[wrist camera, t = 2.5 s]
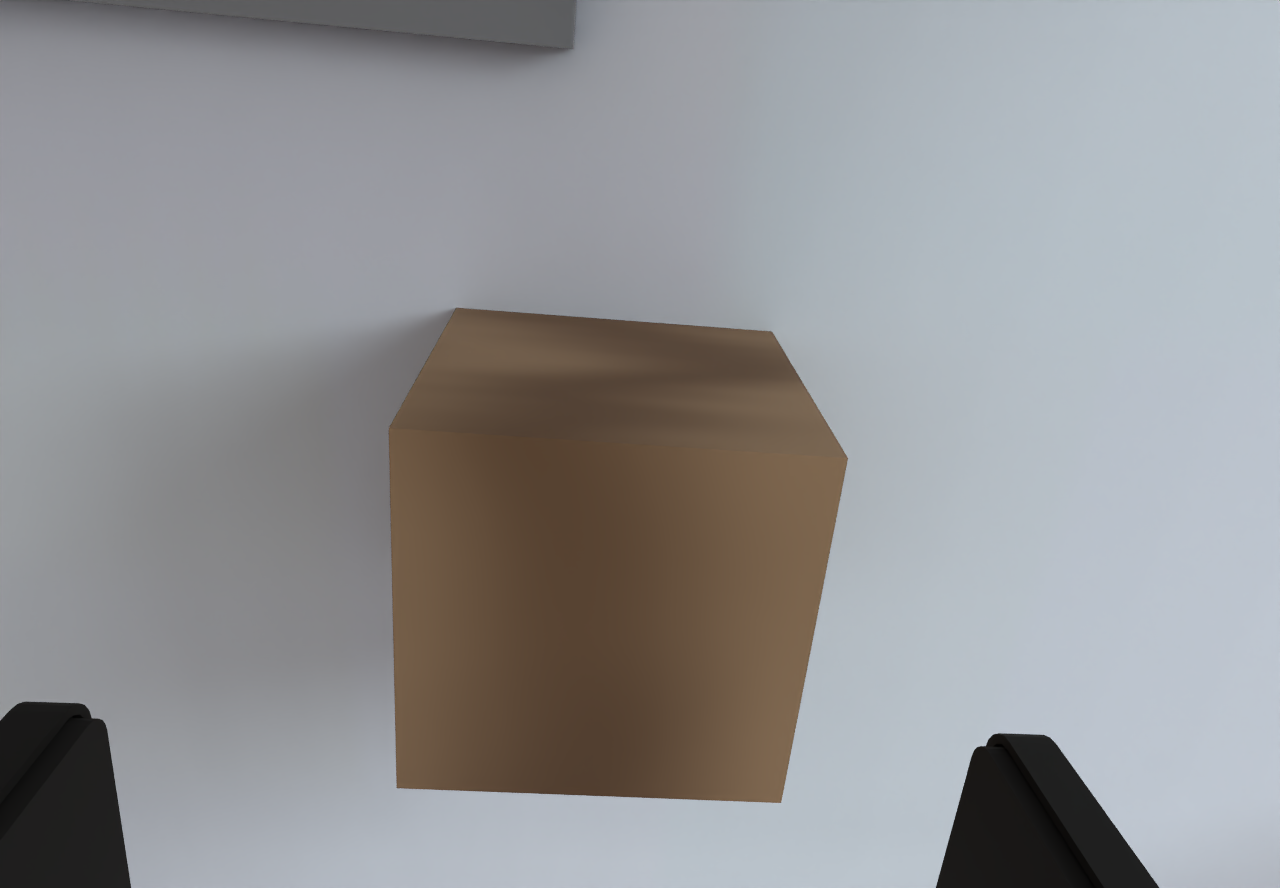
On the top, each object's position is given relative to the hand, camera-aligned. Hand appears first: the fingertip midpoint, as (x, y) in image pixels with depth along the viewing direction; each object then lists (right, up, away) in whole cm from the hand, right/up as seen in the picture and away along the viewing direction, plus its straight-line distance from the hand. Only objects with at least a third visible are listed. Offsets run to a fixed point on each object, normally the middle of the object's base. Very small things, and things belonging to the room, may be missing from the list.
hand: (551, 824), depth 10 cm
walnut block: (0, +4, +7) cm, 8 cm away
